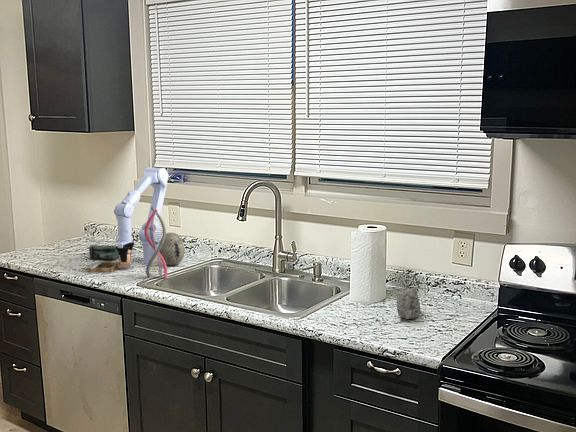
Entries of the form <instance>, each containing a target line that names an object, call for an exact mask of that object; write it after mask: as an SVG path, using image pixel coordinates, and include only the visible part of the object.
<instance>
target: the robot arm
mask: <svg viewBox="0 0 576 432" xmlns="http://www.w3.org/2000/svg"><path fill="white" fill-rule="evenodd" d="M169 176H170V175H169V173H168V171H167V169H165V168H164V167H160V168H159V167H146V168H145V170H144V171H143V172H142V177H141V179H140V180H139V182H138V183H137V185H136V186H135V187H134V189H133V190H130V191H128V192H127V194H126V196H125V197H124V199H122V201H121V202H120V203H117V204H116V205H115V206H114V210H113V213H114V215H115V217H116V218H115V219H116V220H117V237H118V238H117V239H116V240H115V243H117V245H116V246H117V247H116V250H117V251H118V253H119V255H120V259H121V262H127V254H128V250H131V254H132V252H133V248H134V247H135V246H134V245H135V242H133V236H132V219H131V217H132V215H133V214H134V209H135V207H136V206H137V205H138V203H139V202H140V200H141V195H142V193H143V192H144V191H146V190H147V188H148V187H149V186H150V185H151V186H152V188H153V192H152V193H153V194H152V197H151V202H150V207H149V212H148V215H147V220H146V222H144V223H143V224H142V225H141V228H140V230H139V232H138V239H139V240H140V242H141V244H142V254H143V255H142V256H143V259H142V261H141V262H140V264H148V263H149V261H150V260H151V258H152V256H153V255H154V253H155V250H154V249H153V248H152V247H151V245H150V244H149V243H148V241H147V239H146V237H145V234H144V233H145V232H144V231H145V230H144V229H145V226H146V224H147V221H148V219H149V218H150V217H151V215H152V213H153V210H152V209H151V207H154V209H157V210H158V214H159V215H160V216H161V215H162V211H163V206H164V201H165V197H166V193H167V189H168V187H167V186H168V180H169ZM155 216H156V215H155ZM156 217H157V216H156ZM156 217H154V218H156ZM156 219H159V218H156ZM156 219H154V220H155V221H153V222H154V223H158V224H154V223H150V224H153V225H158V226H153V227H157V228H152V229H156V230H153V232H163V231H158V230H163V229H160V228H162V227H160V226H161V225H160V222H156V221H160V220H156ZM149 226H151V225H149ZM148 229H150V227H148ZM148 231H150V230H148ZM147 234H150V233H147ZM152 234H163V233H152ZM148 236H149V237H150V236H151V235H148ZM153 236H163V235H153ZM157 238H162V237H154V238H153V239H157ZM150 239H152V238H150ZM159 240H161V239H157V240H153V241H158V242H154V244H155V246H156V245H159V243H160V241H159ZM151 242H152V240H151ZM156 243H158V244H156ZM156 247H159V246H156ZM156 249H158V248H156ZM157 256H158V255H157ZM157 256H156V257H157ZM131 257H132V255H131V256H130V260H131V259H132V258H131ZM157 258H158V257H157ZM157 258H155V259H156V260H158V259H157ZM159 259H160V258H159ZM156 260H153V261H155V262H152V263H154V264H157V265H158V263H156V262H158V261H156ZM159 261H162V260H159ZM160 263H162V262H160ZM162 264H163V263H162Z"/></svg>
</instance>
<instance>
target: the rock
mask: <svg viewBox="0 0 576 432" xmlns="http://www.w3.org/2000/svg"><path fill="white" fill-rule="evenodd" d="M420 304H421V303H420V298H419V295H418V291H417V288H416V287H411V288H409V289H405V290H402V291H401V292H399V293H397V294H396V309H397V313H398V316H399V318H400V319H401V318H404V319H405V320H409V319H410V320H411V319H413V320H414V319H417V318H418V317H420V314H421V305H420ZM419 313H420V314H419Z"/></svg>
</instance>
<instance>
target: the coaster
mask: <svg viewBox="0 0 576 432" xmlns="http://www.w3.org/2000/svg"><path fill="white" fill-rule="evenodd" d="M134 269H135V266H131V265H130V266H129V267H121V266H119V267H118V270H119V271H123V272H125V271H131V270H134Z"/></svg>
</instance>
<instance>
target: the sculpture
mask: <svg viewBox="0 0 576 432" xmlns="http://www.w3.org/2000/svg"><path fill="white" fill-rule="evenodd" d="M117 246H118V245H97V244H91V245H90V246H89V248H88V249H89V251H88V253H89V260H91V261H92V260H96V259H101V260H102V259H106V260H109V261H115V260H117V259H119V253H118V251H117V250H116V247H117Z"/></svg>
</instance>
